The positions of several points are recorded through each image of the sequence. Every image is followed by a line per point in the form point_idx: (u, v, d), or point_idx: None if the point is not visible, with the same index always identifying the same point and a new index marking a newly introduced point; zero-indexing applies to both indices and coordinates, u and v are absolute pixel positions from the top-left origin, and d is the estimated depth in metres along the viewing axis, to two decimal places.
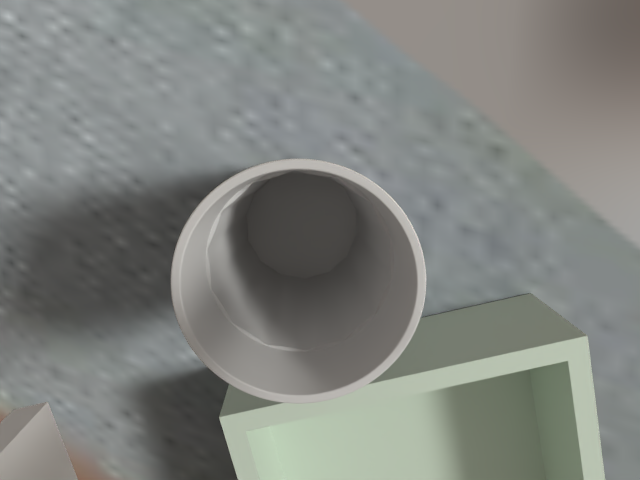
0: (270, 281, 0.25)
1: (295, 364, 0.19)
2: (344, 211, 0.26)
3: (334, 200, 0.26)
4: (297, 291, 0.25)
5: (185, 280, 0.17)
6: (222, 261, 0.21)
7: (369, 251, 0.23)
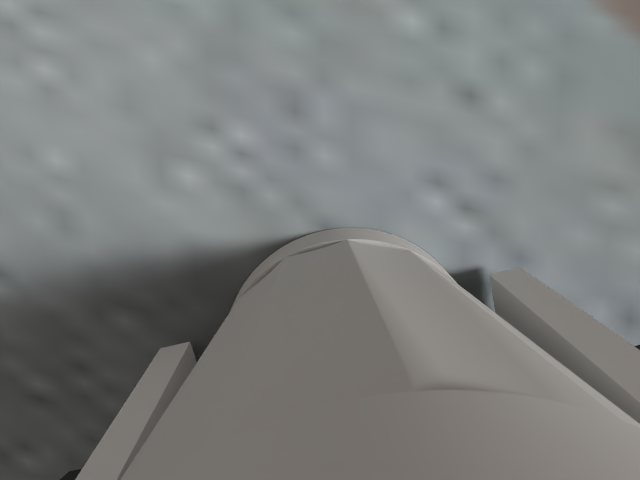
0: None
1: None
2: None
3: None
4: None
5: None
6: None
7: None
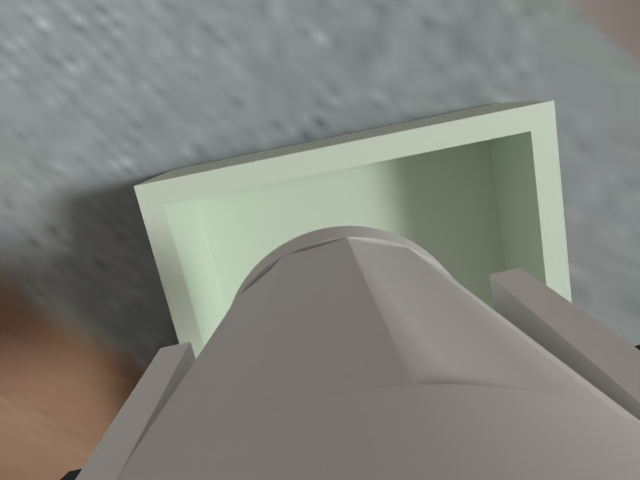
0: None
1: None
2: None
3: None
4: None
5: None
6: None
7: None
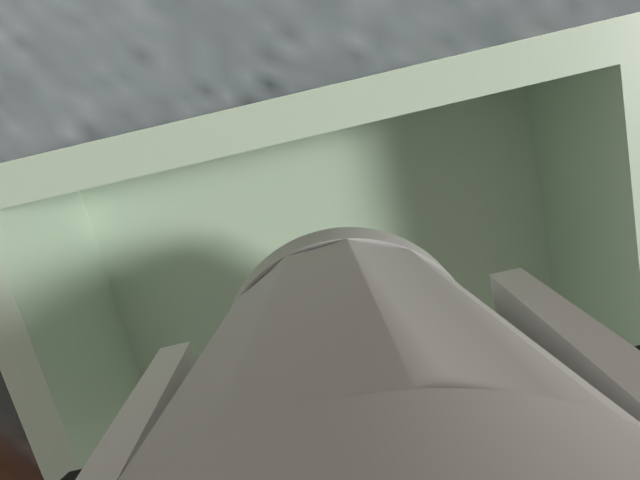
0: None
1: None
2: None
3: None
4: None
5: None
6: None
7: None
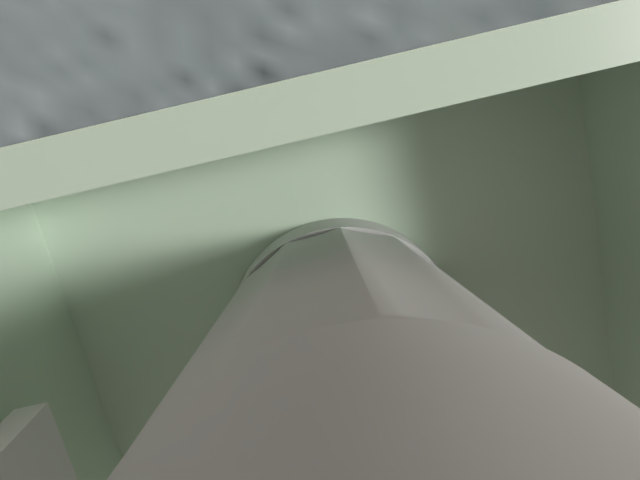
0: None
1: None
2: None
3: None
4: None
5: None
6: None
7: None
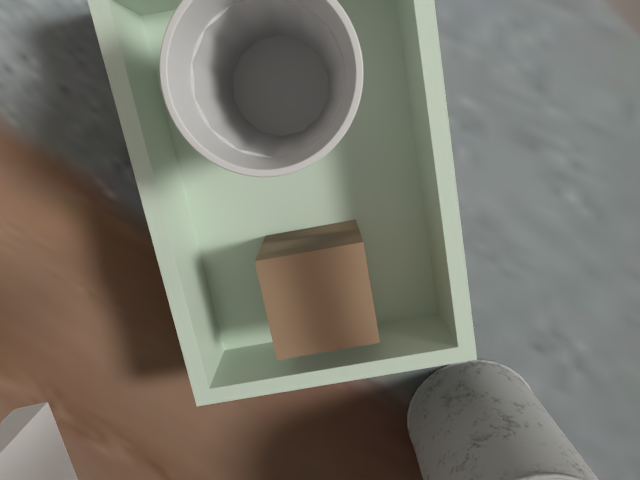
0: (250, 129, 0.29)
1: (260, 161, 0.23)
2: (317, 76, 0.30)
3: (309, 65, 0.30)
4: (272, 138, 0.29)
5: (171, 68, 0.21)
6: (206, 87, 0.25)
7: (333, 97, 0.27)
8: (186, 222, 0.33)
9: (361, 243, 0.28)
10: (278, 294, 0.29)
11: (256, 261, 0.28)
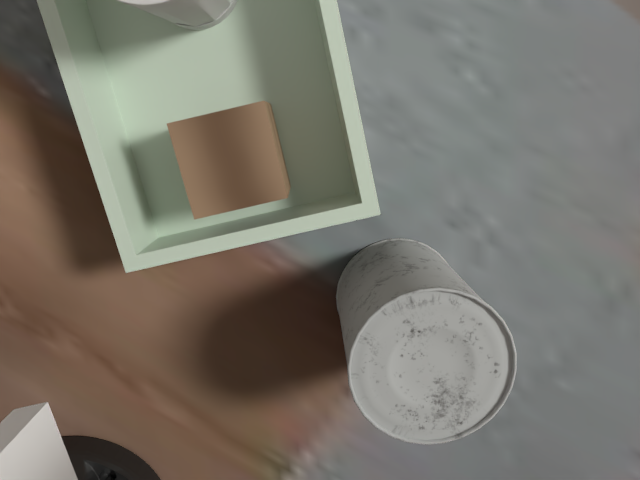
0: None
1: None
2: None
3: None
4: None
5: None
6: None
7: None
8: (111, 108, 0.35)
9: (262, 102, 0.31)
10: (190, 154, 0.32)
11: (168, 123, 0.31)
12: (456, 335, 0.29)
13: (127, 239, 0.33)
